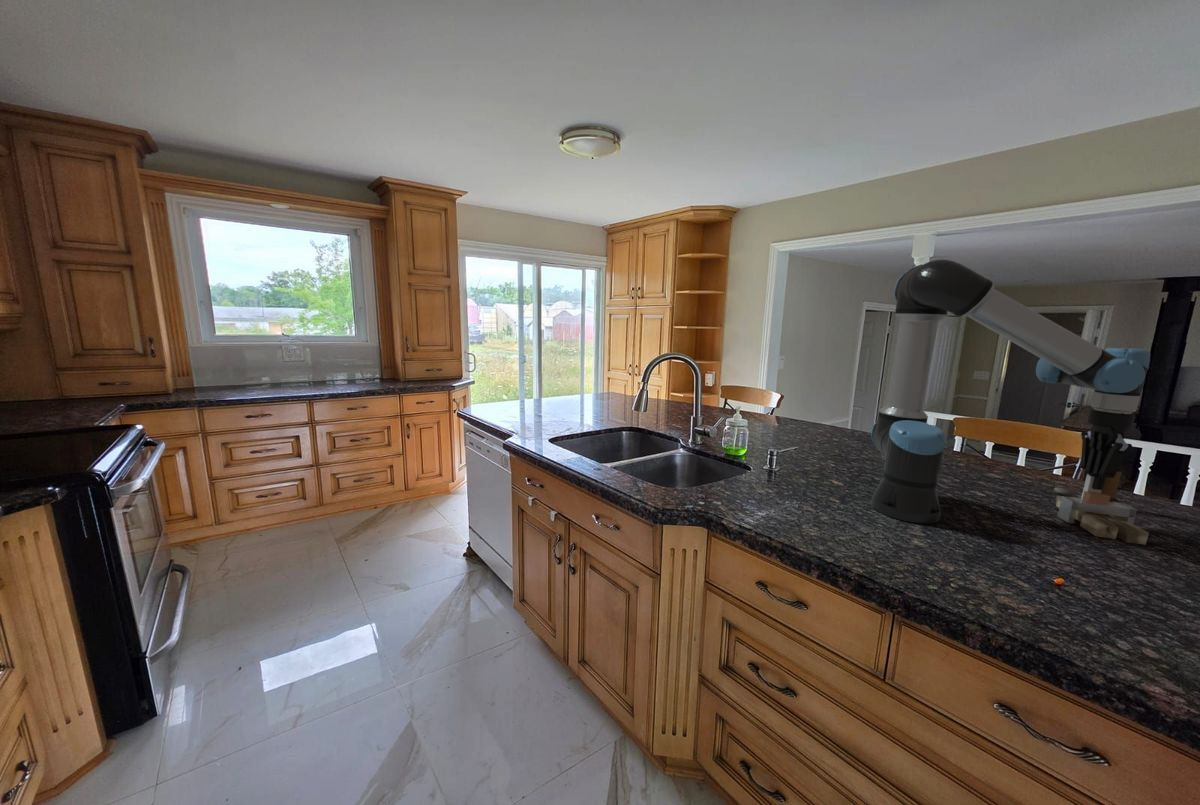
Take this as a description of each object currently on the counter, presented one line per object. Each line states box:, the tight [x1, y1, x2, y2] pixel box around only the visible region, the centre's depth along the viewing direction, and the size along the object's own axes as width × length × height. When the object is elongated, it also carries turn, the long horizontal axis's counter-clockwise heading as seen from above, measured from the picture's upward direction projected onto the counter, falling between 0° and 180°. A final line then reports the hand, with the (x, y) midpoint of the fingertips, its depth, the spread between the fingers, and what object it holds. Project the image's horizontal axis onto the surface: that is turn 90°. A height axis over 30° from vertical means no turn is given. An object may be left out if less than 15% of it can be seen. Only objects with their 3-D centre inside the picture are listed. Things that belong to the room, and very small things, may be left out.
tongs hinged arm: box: [1053, 486, 1119, 540], centre depth 115 cm, size 6×24×4 cm, turn 158°
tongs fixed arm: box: [1054, 493, 1150, 546], centre depth 114 cm, size 5×23×3 cm, turn 162°
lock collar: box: [1056, 491, 1138, 525], centre depth 112 cm, size 12×4×8 cm, turn 72°
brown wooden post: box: [1101, 469, 1123, 503], centre depth 123 cm, size 7×6×18 cm
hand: (1089, 499), depth 114 cm, fingers closed
